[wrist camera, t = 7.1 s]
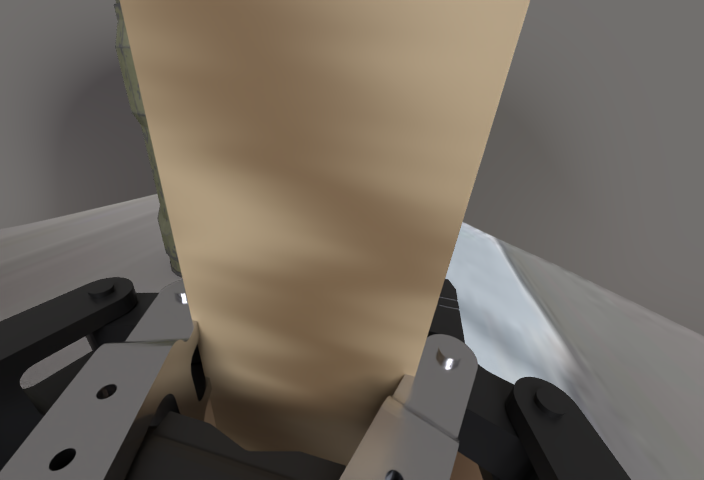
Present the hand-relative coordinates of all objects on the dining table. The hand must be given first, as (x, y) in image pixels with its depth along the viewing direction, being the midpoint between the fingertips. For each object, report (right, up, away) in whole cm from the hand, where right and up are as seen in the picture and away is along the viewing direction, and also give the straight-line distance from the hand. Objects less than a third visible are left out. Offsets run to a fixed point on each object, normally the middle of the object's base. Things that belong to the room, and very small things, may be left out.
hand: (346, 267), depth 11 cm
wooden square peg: (-2, -10, +3) cm, 11 cm away
